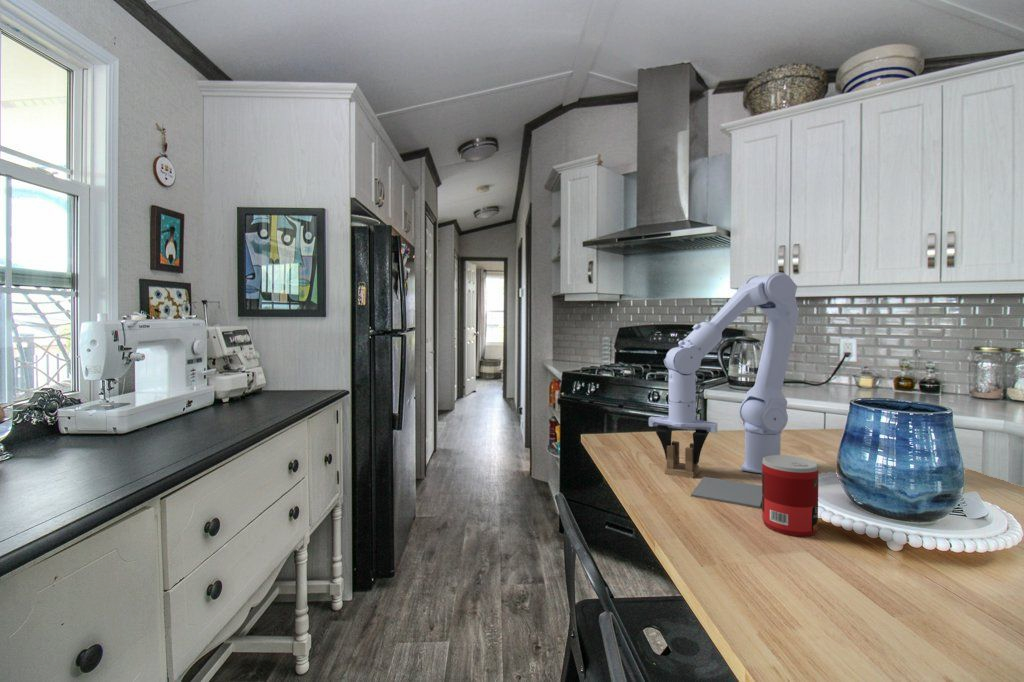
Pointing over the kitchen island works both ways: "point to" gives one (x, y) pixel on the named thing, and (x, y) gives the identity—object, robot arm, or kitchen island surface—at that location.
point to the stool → (681, 468)
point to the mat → (729, 492)
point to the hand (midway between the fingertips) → (682, 460)
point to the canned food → (790, 495)
